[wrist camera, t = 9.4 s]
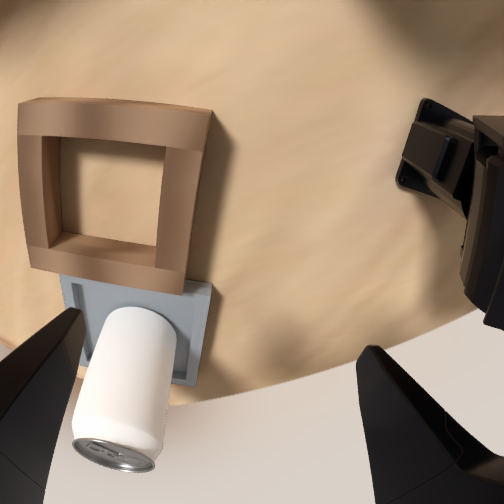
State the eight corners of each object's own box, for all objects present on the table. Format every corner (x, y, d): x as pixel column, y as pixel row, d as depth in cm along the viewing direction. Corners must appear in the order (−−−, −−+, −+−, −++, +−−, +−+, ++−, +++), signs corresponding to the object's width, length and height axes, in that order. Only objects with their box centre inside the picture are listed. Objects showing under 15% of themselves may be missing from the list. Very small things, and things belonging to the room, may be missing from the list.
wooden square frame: (212, 110, 18) (209, 116, 15) (186, 274, 24) (182, 295, 22) (38, 97, 16) (18, 103, 14) (44, 249, 22) (31, 267, 20)
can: (155, 363, 28) (137, 479, 18) (95, 331, 26) (57, 448, 16) (192, 328, 26) (180, 464, 16) (124, 289, 23) (79, 426, 13)
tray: (211, 283, 24) (210, 296, 23) (196, 374, 30) (195, 386, 29) (65, 258, 22) (58, 269, 21) (83, 354, 29) (79, 365, 27)
